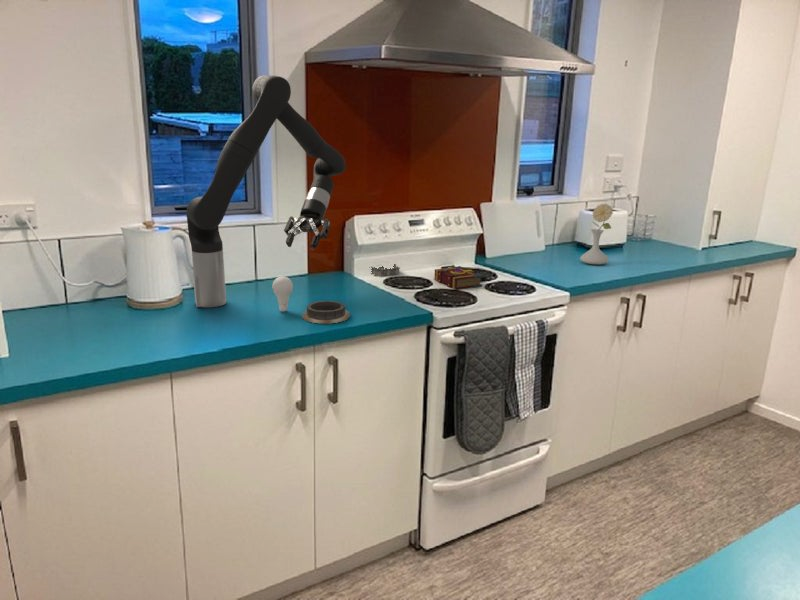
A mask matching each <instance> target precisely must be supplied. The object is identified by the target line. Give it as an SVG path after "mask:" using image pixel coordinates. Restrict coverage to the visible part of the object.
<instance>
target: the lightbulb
mask: <svg viewBox="0 0 800 600" xmlns="http://www.w3.org/2000/svg"><path fill="white" fill-rule="evenodd" d="M271 287H272V291H273V293H274V294H275V296H276V298H277V304H278V309H279V311H281V312H283V313H284V312H286V311H287V310H288V309H289V308H288V306H289V305H288V304H289V300H290V295H291V294H292V292H293V289H294V288H293V287H294V284H293V281H292V280H291V279H290V278H289V277H287V276H282V275H281V276H278V277H276V278H275V279H274V280H273V282H272V285H271Z"/></svg>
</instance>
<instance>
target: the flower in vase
mask: <svg viewBox="0 0 800 600" xmlns="http://www.w3.org/2000/svg"><path fill="white" fill-rule="evenodd" d="M613 213H614V212H613V207H612V206H611V205H609V204H607V203H600V204H599V205H597V206H596V207H594V210H593V211H592V219H593V220H594V221H597V222H598V223H602V224H601V226H599V224H598V223H595V222H594V221H592V223H593V224H594V225H595V226H597V227H599V228H598V229H596V228H593V229H591V230H590V231H591V233H592V236H593V239H592V242H593V243H592V247H591V248H590V249H589V250H587V251H586V252H585V253H583V254H582V255H581V256H580V258H579V259H580V261H581V262H583V263H585V264H589V265H604V264H607V263H609V261H610V260H609V257H608V256H607V255H606V254H605V253H604V252H603V251H602V250H601V249H600V246H599V245H600V244H599V243H600V239H601V236H602V234H603V232H604V231H605V230H610V229H612V227H611V225H610V223H608V222H607V221H608V220H609V219H610V218H612V217H611V216H612V215H613ZM602 227H603V229H604V230H603V229H601V228H602Z"/></svg>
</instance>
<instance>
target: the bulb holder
mask: <svg viewBox="0 0 800 600" xmlns="http://www.w3.org/2000/svg"><path fill="white" fill-rule="evenodd" d="M350 316H351V315H350V312H349V311H348V310H346V305H345V304H344V303H343V302H339V301H335V300H318V301H313V302H311V303H309V304H308V305H307V306H306V310H305V311H303V312H302V320H303V319H304V321H305V320H306V321H308V322H307V323H309V322H312V323H311V324H314V323H318V324H317V325H333V324H332V323H336V324H339V323H338V322H341V323H343V322H342V321H344V322H345V320H346V321H348V320H349V319H350V318H349V317H350ZM348 318H349V319H348ZM347 319H348V320H347ZM306 321H305V322H306Z"/></svg>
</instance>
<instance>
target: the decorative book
mask: <svg viewBox="0 0 800 600" xmlns="http://www.w3.org/2000/svg"><path fill="white" fill-rule="evenodd" d="M483 276H484V275H483V274H481V273H478V272H474V271H473V269H467V268H465V267H463V266H461V265H460V266H459V265H458V266H452V267H445V268H437V269H434V278H433V279H434V280H435V281H436V282H437V283H439V284H443V285H445V286H447V287H448V288H449V289H454V290H461V289H470V288H471V289H472V288H473V289H474V288H482V287H483V284H482V283H481V279H482V278H483Z"/></svg>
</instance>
